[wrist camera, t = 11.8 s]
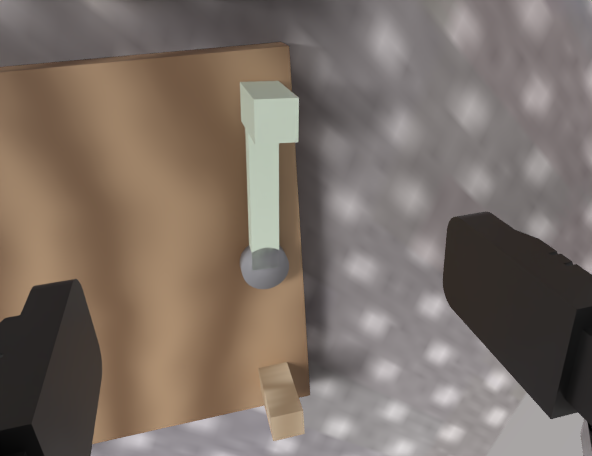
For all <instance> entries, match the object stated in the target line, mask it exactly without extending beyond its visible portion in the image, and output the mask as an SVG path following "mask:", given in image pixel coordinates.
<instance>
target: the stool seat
mask: <svg viewBox="0 0 592 456" xmlns="http://www.w3.org/2000/svg"><path fill="white" fill-rule="evenodd" d="M255 81H279V82H280V83H282V84H283V85H284V86H285V87H286V88H288V89H289V90H290V91H291V92H292V85H291V69H290V52H289V46H288V45H286V44H284V43H282V42H275V43H264V44H253V45H242V46H231V47H219V48H208V49H197V50H186V51H175V52H163V53H152V54H141V55H130V56H118V57H107V58H96V59H85V60H74V61H62V62H51V63H40V64H29V65H18V66H6V67H0V322H1V321H2V320H3V319H4V318H7V317H13V316H18V315H20V314H21V312H22V310H23V307H24V305H25V302H26V300H27V298H28V295H29V293H30V291H31V289H32V287H33V286H36V285H42V284H48V283H54V282H60V281H66V280H72V279H77V280H78V281H79V282H80V284H81V286H82V289H83V292H84V295H85V298H86V302H87V305H88V309H89V312H90V315H91V319H92V322H93V326H94V329H95V332H96V336H97V339H98V343H99V346H100V351H101V358H102V380H101V387H100V394H99V401H98V408H97V414H96V421H95V428H94V435H93V441H92V444H95V443H99V442H103V441H108V440H112V439H117V438H121V437H126V436H130V435H135V434H139V433H144V432H148V431H152V430H157V429H161V428H166V427H170V426H175V425H179V424H184V423H188V422H193V421H197V420H201V419H206V418H210V417H215V416H219V415H224V414H228V413H233V412H237V411H242V410H246V409H250V408H255V407H259V406H264V405H265V409H266V413H267V417H268V421H269V426H270V430H271V434H272V438H273V441H276V440H280V439H285V438H289V437H293V436H297V435H301V434H305V433H304V419H303V409H302V406H301V403H300V400H299V397H304V396H308V395H310V386H309V369H308V352H307V336H306V319H305V302H304V285H303V269H302V252H301V235H300V219H299V202H298V185H297V169H296V152H295V142H293V143H279V245H280V246H281V247H282V248H283V250H284V252H285V254H286V256H287V259H288V261H289V271H288V274H287V276H286V278H285V279H284V280H283V281H282V282H281V283H280V284H279V285H277V286H275V287H273V288H270V289H257V288H254V287H252V286H250V285H249V284H247V282H246V281H245V280H244V278H243V275H242V271H241V268H240V257H241V254H242V252H243V251H244V249H245V248H246V247H247V246H248V245H249V228H248V197H247V167H246V136H245V127H244V125H243V123H242V122H241V102H240V82H255Z"/></svg>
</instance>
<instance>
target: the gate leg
mask: <svg viewBox="0 0 592 456" xmlns="http://www.w3.org/2000/svg"><path fill="white" fill-rule="evenodd" d="M240 102H241V122H242V123H243V125H244V127H245V136H246V167H247V197H248V228H249V245H248V246H247V247H246V248H245V249H244V251H243V252H242V254H241V257H240V268H241V271H242V275H243V278H244V280H245V281H246V282H247V284H249V285H250V286H252V287H254V288H257V289H270V288H273V287H275V286H277V285H279V284H280V283H281V282H282V281H283V280H284V279H285V278H286V276H287V274H288V271H289V261H288V259H287V256H286V254H285V252H284V250H283V248H282V247H281V246H280V245H279V143H293V142H298V129H299V97H297V96H296V95H295V94H294V93H293V92H291V91H290V90H289V89H288V88H286V87H285V86H284V85H283V84H282V83H280V82H279V81H255V82H240Z"/></svg>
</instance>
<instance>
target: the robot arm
mask: <svg viewBox="0 0 592 456" xmlns="http://www.w3.org/2000/svg"><path fill="white" fill-rule="evenodd" d="M443 288H444V293H445V296H446V299H447V301H448V303H449V305H450V307H451V308H452V309H453V310H454V311H455V312H456V314H457V315H458V316H459V317H460V318H461V319H462V320H463V321H464V323H465V324H466V325H467V326H468V327H469V328H470V329H471V330H472V331H473V333H474V334H475V335H476V336H477V337H478V338H479V339H480V340H481V342H482V343H483V344H484V345H485V346H486V347H487V348H488V349H489V350H490V352H491V353H492V354H493V355H494V356H495V357H496V358H497V359H498V361H499V362H500V363H501V364H502V365H503V366H504V367H505V368H506V369H507V371H508V372H509V373H510V374H511V375H512V376H513V377H514V378H515V379H516V381H517V382H518V383H519V384H520V385H521V386H522V387H523V388H524V390H525V391H526V392H527V393H528V394H529V395H530V396H531V397H532V398H533V400H534V401H535V402H536V403H537V404H538V405H539V406H540V407H541V408H542V410H543V411H544V412H545V413H546V414H547V415H548V416H549V417H550V419H553V418H557V417H561V416H565V415H569V414H573V413H577V412H578V413H579V414H580V415H581V416H582V417H583V418H584V422H583V425H582V429H581V440H582V448H583V456H592V275H591V274H590V273H588V272H587V271H585V270H584V269H582V268H581V267H579V266H578V265H577V264H576V265H573V263H572V261H571V260H569V259H568V258H566V257H565V256H563V255H562V254H557V251H556V250H554V249H553V248H551V247H550V246H548V245H547V244H545V243H544V242H543V241H541V240H540V239H538V238H535V237H532V236H530V235H527V234H524V233H522V232H519V231H516V230H514V229H513V228H512V227H510V226H509V225H507V224H506V223H504V222H503V221H502V220H500V219H499V218H497V217H496V216H494V215H493V214H491V213H490V212H481V213H475V214H469V215H463V216H457V217H453V218H452V219H451V220H450V221H449V224H448V228H447V237H446V249H445V260H444V272H443ZM101 380H102V358H101V351H100V346H99V343H98V339H97V336H96V332H95V329H94V326H93V322H92V319H91V315H90V312H89V309H88V305H87V302H86V298H85V295H84V292H83V289H82V286H81V284H80V282H79V281H78V280H77V279H72V280H66V281H60V282H54V283H48V284H42V285H36V286H33V287H32V289H31V291H30V293H29V295H28V298H27V300H26V302H25V305H24V307H23V310H22V312H21V314H20V315H18V316H13V317H7V318H4V319H3V320H2V321H1V322H0V456H90V455H91V448H92V441H93V435H94V428H95V421H96V414H97V408H98V401H99V394H100V387H101Z"/></svg>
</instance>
